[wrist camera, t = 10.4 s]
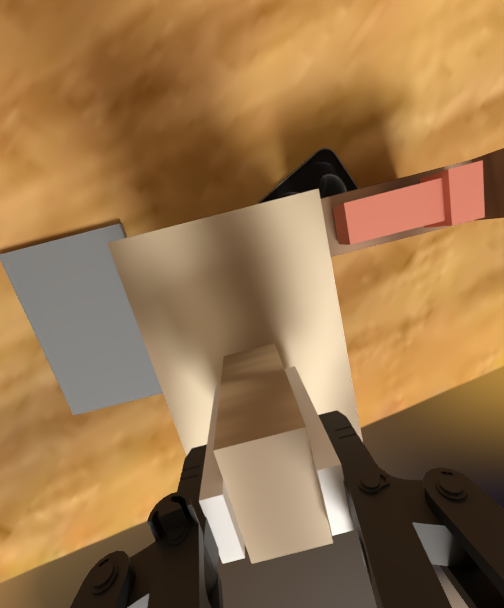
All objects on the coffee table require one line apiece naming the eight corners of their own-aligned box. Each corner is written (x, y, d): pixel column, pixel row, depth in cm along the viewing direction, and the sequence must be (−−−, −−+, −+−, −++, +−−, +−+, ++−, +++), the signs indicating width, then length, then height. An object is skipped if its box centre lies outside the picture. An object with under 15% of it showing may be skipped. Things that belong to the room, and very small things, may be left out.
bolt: (339, 249, 18) (354, 250, 16) (331, 202, 18) (346, 195, 15) (452, 220, 18) (484, 217, 16) (449, 171, 18) (482, 160, 15)
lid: (202, 463, 19) (173, 652, 10) (123, 242, 15) (-29, 243, 6) (350, 426, 19) (447, 582, 10) (308, 195, 15) (405, 132, 6)
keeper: (303, 252, 27) (346, 260, 16) (294, 212, 26) (335, 190, 15) (414, 224, 27) (538, 211, 15) (409, 182, 26) (538, 137, 15)
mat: (76, 411, 30) (73, 415, 29) (3, 254, 26) (-2, 255, 25) (179, 386, 30) (178, 389, 29) (122, 223, 25) (119, 223, 25)
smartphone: (204, 248, 26) (327, 141, 24) (205, 248, 27) (324, 144, 25) (252, 304, 27) (372, 208, 26) (252, 302, 28) (368, 209, 26)
